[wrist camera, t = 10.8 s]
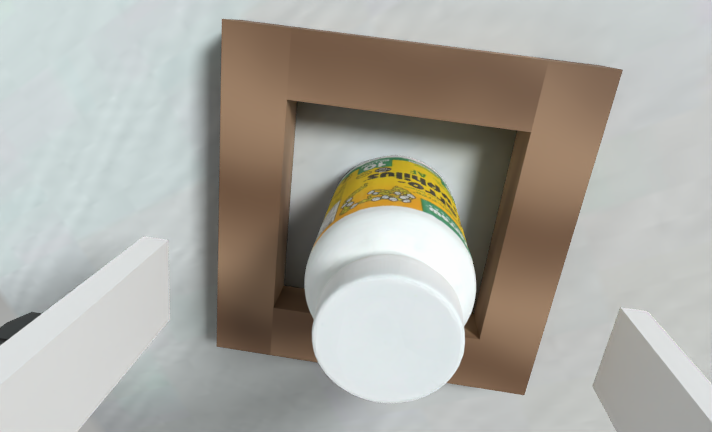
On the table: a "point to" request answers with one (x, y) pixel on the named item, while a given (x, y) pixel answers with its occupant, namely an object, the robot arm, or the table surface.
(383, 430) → the table surface
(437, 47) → the holder frame
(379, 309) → the supplement bottle
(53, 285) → the table surface
